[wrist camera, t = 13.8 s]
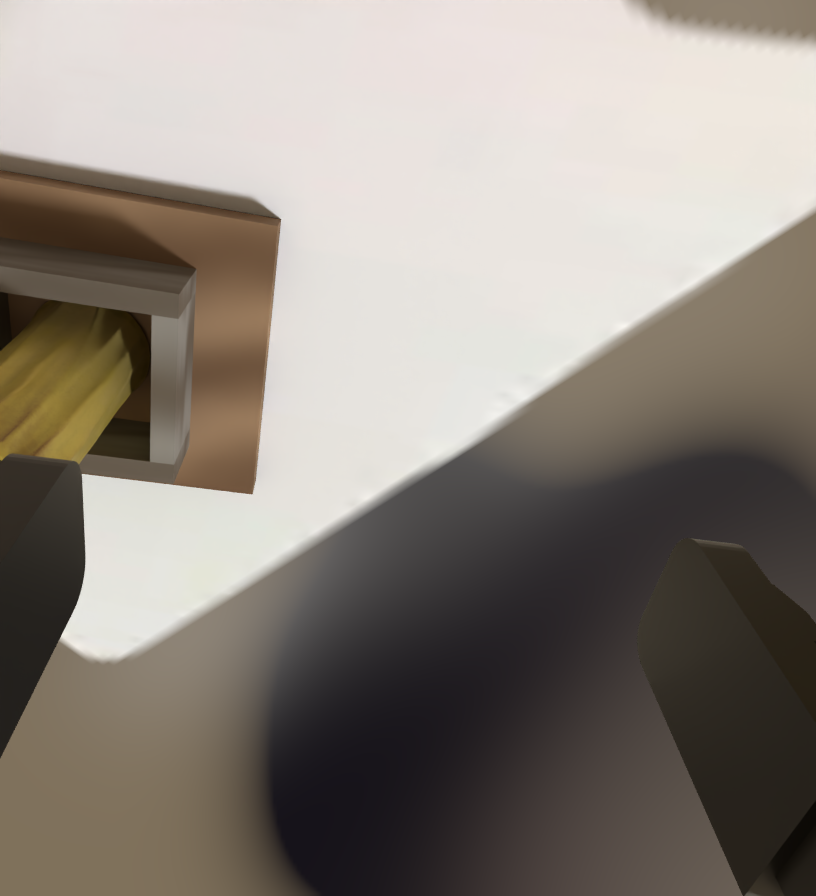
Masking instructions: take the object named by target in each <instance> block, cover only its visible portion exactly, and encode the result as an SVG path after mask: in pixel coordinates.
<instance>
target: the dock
mask: <svg viewBox="0 0 816 896" xmlns="http://www.w3.org/2000/svg"><path fill="white" fill-rule="evenodd" d="M280 224H281V219H276V218H270V217H265V216H259V215H253V214H248V213H242V212H236V211H230V210H225V209H219V208H213V207H208V206H202V205H196V204H190V203H185V202H179V201H173V200H168V199H162V198H156V197H150V196H145V195H139V194H133V193H128V192H122V191H116V190H110V189H105V188H99V187H93V186H88V185H82V184H76V183H71V182H65V181H59V180H53V179H48V178H42V177H36V176H31V175H25V174H19V173H13V172H8V171H2V170H0V351H1V350H2V349H3V348H4V347H5V346H6V345H7V344H9V343H10V342H11V341H12V340H13V339H14V338H15V337H16V336H18V335H19V334H20V333H21V332H22V331H23V329H24V328H25V327H26V326H27V325H28V324H29V323H30V321H31V319H32V318H33V316H34V315H35V313H36V311H37V310H38V309H39V308H40V307H41V306H42V305H43V304H45V303H46V302H48V301H49V300H57V301H63V302H70V303H76V304H83V305H89V306H96V307H102V308H109V309H116V310H122V311H127V312H128V313H129V314H130V315H131V316H132V317H133V318H134V319H135V321H136V322H137V323H138V324H139V326H140V328H141V329H142V331H143V333H144V335H145V337H146V339H147V342H148V346H149V351H150V363H149V369H148V373H147V375H146V378H145V379H144V381H143V382H142V384H141V385H140V386H139V387H138V388H137V389H136V390H135V391H133V392H132V393H131V394H130V396H129V397H128V398H127V400H126V401H125V402H124V403H123V405H122V406H121V407H120V408H119V410H118V411H117V412H116V414H115V415H114V416H113V418H112V419H111V421H110V422H109V423H108V425H107V426H106V427H105V429H104V430H103V432H102V433H101V435H100V436H99V438H98V439H97V441H96V442H95V443H94V445H93V446H92V447H91V449H90V450H89V451H88V453H87V454H86V455H85V457H84V458H83V459H82V461H81V462H80V464H79V466H80V469H81V474H89V475H97V476H105V477H114V478H122V479H130V480H138V481H147V482H155V483H163V484H171V485H180V486H188V487H196V488H204V489H213V490H221V491H229V492H237V493H246V494H253V490H254V485H255V481H256V471H257V461H258V451H259V440H260V430H261V420H262V409H263V399H264V389H265V378H266V368H267V358H268V348H269V337H270V327H271V317H272V306H273V296H274V286H275V275H276V265H277V255H278V245H279V234H280Z"/></svg>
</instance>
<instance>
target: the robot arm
mask: <svg viewBox="0 0 816 896" xmlns="http://www.w3.org/2000/svg"><path fill="white" fill-rule="evenodd" d="M84 572H85V537H84V514H83V491H82V474H81V469H80V466H79V464H78V463H77V462H76V461H71V460H63V459H55V458H46V457H38V456H30V455H22V454H14V453H12V454H9V455H7V456H6V457H5V458H4V459H3V460H2V461H1V462H0V758H1V756H2V754H3V752H4V750H5V748H6V746H7V744H8V742H9V740H10V738H11V736H12V734H13V731H14V730H15V728H16V726H17V724H18V721H19V720H20V717H21V716H22V714H23V712H24V710H25V708H26V706H27V704H28V701H29V699H30V697H31V695H32V693H33V691H34V689H35V687H36V685H37V683H38V681H39V679H40V677H41V675H42V673H43V671H44V669H45V667H46V665H47V663H48V661H49V659H50V657H51V655H52V653H53V651H54V649H55V647H56V645H57V643H58V641H59V639H60V637H61V635H62V633H63V631H64V629H65V627H66V625H67V623H68V621H69V619H70V617H71V615H72V613H73V611H74V609H75V606H76V604H77V601H78V599H79V595H80V592H81V588H82V584H83V578H84ZM637 647H638V655H639V659H640V662H641V665H642V668H643V670H644V672H645V674H646V677H647V679H648V681H649V684H650V686H651V688H652V690H653V693H654V695H655V697H656V700H657V702H658V704H659V706H660V709H661V711H662V713H663V715H664V718H665V720H666V722H667V725H668V727H669V729H670V731H671V734H672V736H673V738H674V740H675V743H676V745H677V747H678V750H679V751H680V754H681V756H682V758H683V761H684V763H685V765H686V768H687V770H688V772H689V775H690V777H691V779H692V781H693V784H694V786H695V788H696V790H697V793H698V795H699V797H700V799H701V802H702V804H703V806H704V809H705V811H706V813H707V815H708V818H709V820H710V822H711V825H712V827H713V829H714V831H715V834H716V836H717V838H718V840H719V843H720V845H721V847H722V850H723V852H724V854H725V856H726V858H727V861H728V863H729V865H730V867H731V870H732V872H733V875H734V877H735V879H736V881H737V883H738V886H739V888H740V890H741V893H742V895H743V896H816V624H815V622H814V621H813V619H812V618H811V617H810V615H809V614H808V613H807V612H806V611H805V610H804V609H803V608H801V607H800V606H799V605H798V604H796V603H795V602H794V601H793V600H792V599H790V598H789V597H788V596H787V595H786V594H784V593H783V592H782V591H781V590H779V589H778V588H777V587H776V586H775V585H773V584H771V582H770V581H769V580H768V578H767V577H766V576H765V574H764V573H763V572H762V571H761V569H760V568H759V566H758V565H757V564H756V562H755V561H754V559H752V557H751V556H750V554H749V553H748V552H747V550H746V549H745V548H744V547H742V546H740V545H738V544H730V543H723V542H714V541H706V540H698V539H690V538H686V539H683V540H681V541H680V542H678V543H677V544H676V546H675V547H674V549H673V551H672V552H671V555H670V557H669V559H668V561H667V563H666V565H665V568H664V570H663V572H662V574H661V576H660V578H659V581H658V583H657V585H656V587H655V589H654V592H653V594H652V596H651V598H650V600H649V603H648V604H647V607H646V609H645V611H644V613H643V615H642V618H641V620H640V624H639V628H638V636H637Z"/></svg>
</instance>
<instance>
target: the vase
mask: <svg viewBox="0 0 816 896" xmlns="http://www.w3.org/2000/svg"><path fill="white" fill-rule="evenodd" d="M149 363H150V351H149V346H148V342H147V339H146V337H145V335H144V333H143V331H142V329H141V328H140V326H139V324H138V323H137V322H136V321H135V319H134V318H133V317H132V316H131V315H130V314H129V313H128V312H127V311H122V310H116V309H109V308H102V307H96V306H89V305H83V304H76V303H70V302H63V301H57V300H49V301H48V302H46V303H45V304H43V305H42V306H41V307H40V308H39V309H38V310H37V311H36V313H35V315H34V316H33V318H32V319H31V321H30V323H29V324H28V325H27V326H26V327H25V328H24V329H23V331H22V332H21V333H20V334H19V335H18V336H16V337H15V338H14V339H13V340H12V341H11V342H10V343H9V344H7V345H6V346H5V347H4V348H3V349H2V350H1V351H0V462H1V461H2V460H3V459H4V458H5V457H6V456H7V455H9V454H12V453H14V454H22V455H30V456H38V457H46V458H55V459H63V460H71V461H76V462H77V463H78V464H80V462H81V461H82V459H83V458H84V457H85V455H86V454H87V453H88V451H89V450H90V449H91V447H92V446H93V445H94V443H95V442H96V441H97V439H98V438H99V436H100V435H101V433H102V432H103V430H104V429H105V427H106V426H107V425H108V423H109V422H110V421H111V419H112V418H113V416H114V415H115V414H116V412H117V411H118V410H119V408H120V407H121V406H122V405H123V403H124V402H125V401H126V400H127V398H128V397H129V396H130V394H131V393H132V392H133V391H135V390H136V389H137V388H138V387H139V386H140V385H141V384H142V382H143V381H144V379H145V378H146V375H147V373H148V369H149Z"/></svg>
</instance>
